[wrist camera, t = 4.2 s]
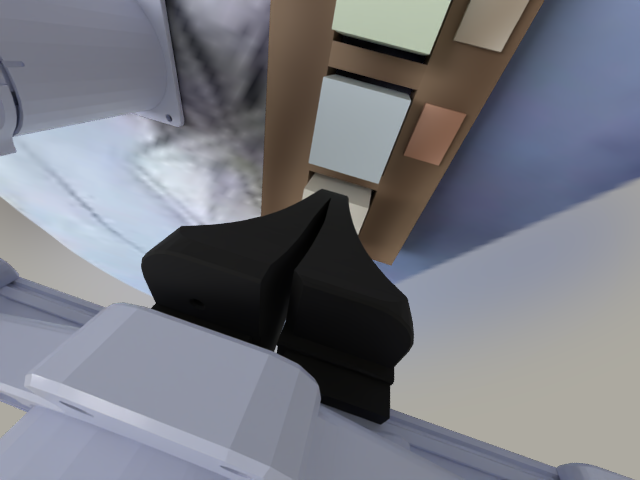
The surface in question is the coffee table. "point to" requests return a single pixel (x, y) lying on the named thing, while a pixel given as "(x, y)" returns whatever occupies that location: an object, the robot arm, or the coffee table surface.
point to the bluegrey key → (356, 126)
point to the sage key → (392, 22)
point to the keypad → (425, 79)
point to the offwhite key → (355, 193)
